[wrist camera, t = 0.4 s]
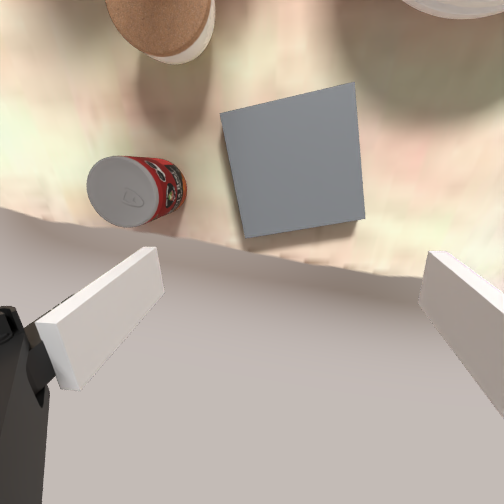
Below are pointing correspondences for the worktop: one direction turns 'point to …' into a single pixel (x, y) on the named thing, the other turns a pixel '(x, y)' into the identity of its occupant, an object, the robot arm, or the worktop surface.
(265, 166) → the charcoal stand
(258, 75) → the worktop surface
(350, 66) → the worktop surface
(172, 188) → the canned food
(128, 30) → the lidded jar
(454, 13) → the plate stack
